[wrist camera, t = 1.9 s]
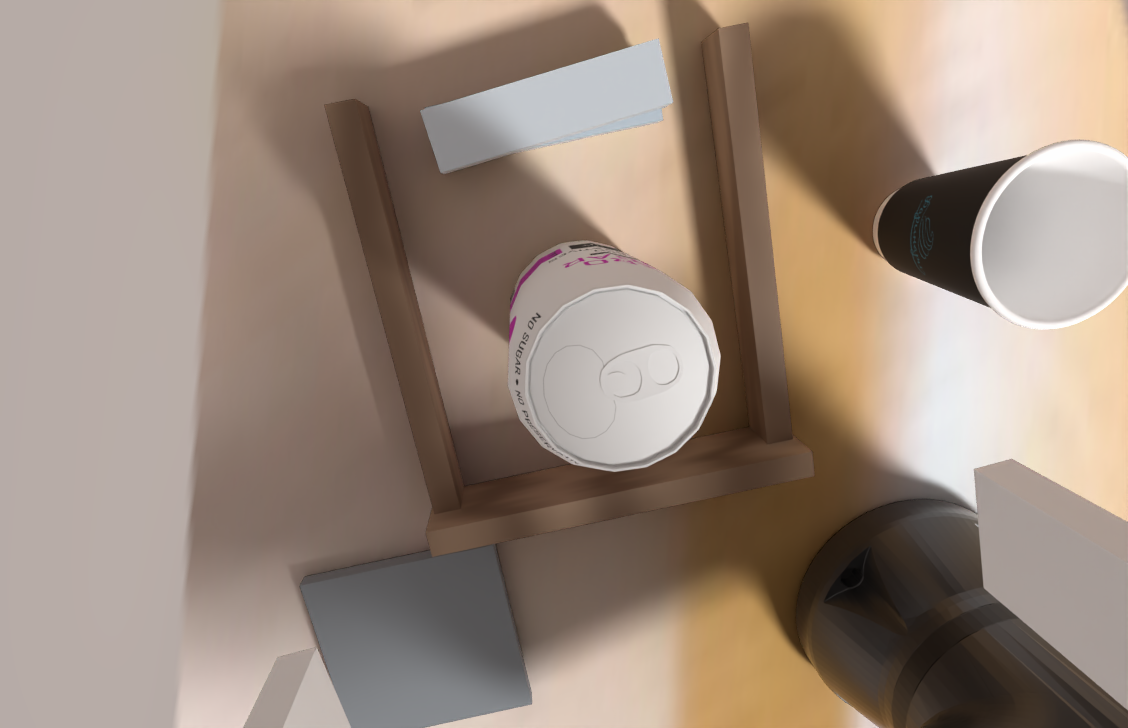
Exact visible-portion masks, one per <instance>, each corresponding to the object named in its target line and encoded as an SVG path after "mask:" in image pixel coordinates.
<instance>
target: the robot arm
mask: <svg viewBox="0 0 1128 728" xmlns="http://www.w3.org/2000/svg"><path fill="white" fill-rule="evenodd" d="M974 476H975V488H976V500H977V513H978V515H977V514H976V513H974V512H972V511H970V510H969V509H966V508H964V507H962V506H959V505H956V504H953V503H949V502H945V501H940V500H928V499H919V500H907V501H901V502H896V503H892V504H889V505H886V506H883V507H880V508H877V509H875V510H872V511H870V512H868V513H866V514H864V515H862V516H860V517H859V518H857V519H855V520H854V521H852V522H851V523H849V524H848V525H846V526H845V527H844V528H842V529H841V530H840V531H839V532H838V533H836V534H835V535H834V536H833V537H832V538H831V539H830V540H829V541H828V542H827V543H826V544H825V545H824V547H823V548H822V549H821V550H820V552H819V553H818V554H817V556H816V557H815V558H814V560H813V562H812V563H811V565H810V567H809V568H808V570H807V572H806V574H805V577H804V579H803V582H802V584H801V587H800V591H799V595H798V600H797V607H796V624H797V631H798V635H799V639H800V642H801V645H802V647H803V649H804V651H805V653H806V655H807V657H808V658H809V660H810V661H811V663H812V665H813V666H814V668H815V669H816V671H817V672H818V674H819V675H820V677H821V678H822V680H823V681H824V682H825V684H826V685H827V686H828V687H829V688H830V689H831V690H832V691H833V692H834V693H835V694H836V695H837V696H838V697H839V698H840V699H842V700H843V701H844V702H846V703H847V704H849V705H851V706H852V707H854V708H855V709H856V710H857V711H858V712H860V713H861V714H862V715H864V716H865V717H866V718H867V719H869V720H870V721H871V722H873V723H874V724H875V725H876V726H878V727H879V728H1128V522H1127V521H1125V520H1123V519H1121V518H1119V517H1118V516H1116V515H1114V514H1112V513H1110V512H1108V511H1107V510H1105V509H1103V508H1101V507H1099V506H1097V505H1096V504H1094V503H1092V502H1090V501H1088V500H1086V499H1085V498H1083V497H1081V496H1079V495H1077V494H1075V493H1074V492H1072V491H1070V490H1068V489H1066V488H1064V487H1063V486H1061V485H1059V484H1057V483H1055V482H1053V481H1052V480H1050V479H1048V478H1046V477H1044V476H1042V475H1041V474H1039V473H1037V472H1035V471H1033V470H1031V469H1030V468H1028V467H1026V466H1024V465H1022V464H1020V463H1019V462H1017V461H1015V460H1013V459H1009V460H1006V461H1002V462H998V463H995V464H991V465H987V466H983V467H980V468H976V469H974ZM243 728H351V726H350V724H349V722H348V719H347V717H346V715H345V712H344V710H343V708H342V705H341V703H340V701H339V698H338V696H337V694H336V691H335V689H334V687H333V684H332V682H331V680H330V677H329V675H328V673H327V670H326V668H325V666H324V663H323V661H322V659H321V656H320V654H319V652H318V649H317V647H314V648H310V649H307V650H303V651H299V652H296V653H292V654H288V655H285V656H281V657H278V658H277V660H276V662H275V664H274V666H273V668H272V670H271V672H270V674H269V676H268V678H267V680H266V682H265V684H264V686H263V688H262V690H261V692H260V694H259V697H258V699H257V701H256V703H255V705H254V707H253V709H252V711H251V713H250V715H249V717H248V719H247V721H246V723H245V725H244V727H243Z"/></svg>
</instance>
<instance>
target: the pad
mask: <svg viewBox="0 0 1128 728" xmlns="http://www.w3.org/2000/svg"><path fill="white" fill-rule="evenodd" d="M300 589H301V592H302V595H303V598H304V601H305V603H306V606H307V609H308V612H309V615H310V618H311V621H312V624H313V627H314V630H315V633H316V636H317V639H318V642H319V645H320V648H321V651H322V654H323V657H324V659H325V662H326V665H327V668H328V671H329V674H330V677H331V680H332V683H333V686H334V689H335V691H336V694H337V696H338V698H339V701H340V703H341V705H342V708H343V710H344V712H345V715H346V717H347V719H348V722H349V724H350V726H351V728H425V727H430V726H434V725H439V724H443V723H448V722H453V721H457V720H462V719H466V718H471V717H476V716H480V715H485V714H489V713H494V712H498V711H503V710H508V709H512V708H517V707H521V706H526V705H531V704H532V692H531V688H530V684H529V680H528V676H527V672H526V668H525V664H524V660H523V656H522V652H521V647H520V643H519V639H518V635H517V631H516V627H515V623H514V619H513V615H512V611H511V607H510V603H509V599H508V594H507V590H506V586H505V582H504V578H503V574H502V570H501V566H500V562H499V558H498V554H497V550H496V546H495V544H491V545H487V546H482V547H477V548H472V549H468V550H463V551H458V552H454V553H449V554H444V555H439V556H435V557H432V554H431V551H430V550H429V551H424V552H419V553H414V554H410V555H405V556H400V557H395V558H391V559H386V560H381V561H376V562H372V563H367V564H362V565H358V566H353V567H348V568H343V569H339V570H334V571H329V572H324V573H320V574H315V575H310V576H305V577H304V579H303V580H302V582H301V584H300Z"/></svg>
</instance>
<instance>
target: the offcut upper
mask: <svg viewBox="0 0 1128 728" xmlns="http://www.w3.org/2000/svg"><path fill="white" fill-rule="evenodd" d="M672 103H673V99H672V95H671V90H670V86H669V82H668V77H667V73H666V69H665V64H664V60H663V55H662V51H661V47H660V42H659V38H658V39H655V40H652V41H648V42H645V43H642V44H638V45H635V46H632V47H629V48H625V49H622V50H619V51H615V52H612V53H609V54H605V55H602V56H599V57H595V58H592V59H589V60H586V61H582V62H579V63H576V64H572V65H569V66H566V67H562V68H559V69H556V70H552V71H549V72H546V73H543V74H539V75H536V76H533V77H529V78H526V79H523V80H519V81H516V82H513V83H510V84H506V85H503V86H500V87H496V88H493V89H490V90H486V91H483V92H480V93H476V94H473V95H470V96H467V97H463V98H460V99H457V100H453V101H450V102H447V103H443V104H440V105H437V106H433V107H430V108H427V109H424V110H420V112H421V115H422V118H423V121H424V124H425V127H426V130H427V134H428V137H429V140H430V143H431V146H432V149H433V152H434V155H435V158H436V161H437V164H438V167H439V170H440V173H442V174H447V173H450V172H453V171H457V170H460V169H463V168H467V167H470V166H473V165H477V164H480V163H483V162H487V161H490V160H493V159H496V158H500V157H503V156H506V155H510V154H513V153H516V152H520V151H523V150H526V149H530V148H533V147H536V146H539V145H543V144H546V143H549V142H553V141H556V140H559V139H563V138H566V137H569V136H573V135H576V134H579V133H583V132H586V131H589V130H592V129H596V128H599V127H602V126H606V125H609V124H612V123H616V122H619V121H622V120H626V119H629V118H632V117H635V116H639V115H642V114H645V113H649V112H652V111H655V110H659V109H662V108H665V107H667V106H668V105H670V104H672Z"/></svg>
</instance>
